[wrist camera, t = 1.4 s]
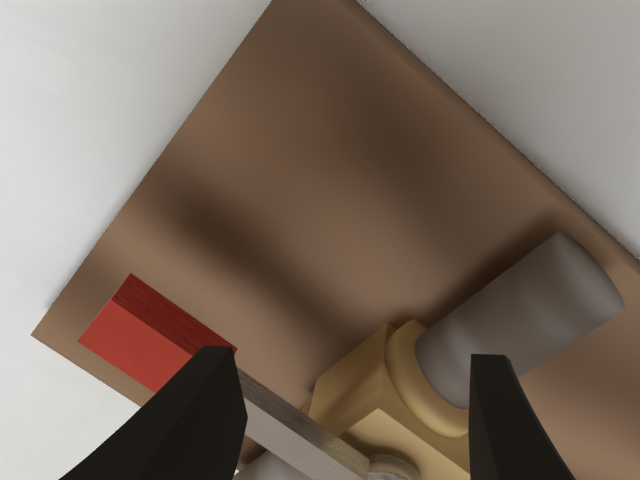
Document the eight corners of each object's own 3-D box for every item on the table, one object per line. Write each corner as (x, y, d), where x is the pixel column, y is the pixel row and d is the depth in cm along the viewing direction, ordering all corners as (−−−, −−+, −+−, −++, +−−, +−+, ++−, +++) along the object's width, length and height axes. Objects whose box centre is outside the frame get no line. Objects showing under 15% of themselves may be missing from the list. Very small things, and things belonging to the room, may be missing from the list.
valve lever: (384, 513, 20) (382, 548, 19) (95, 317, 17) (73, 345, 16) (437, 483, 18) (437, 518, 17) (134, 268, 16) (114, 295, 15)
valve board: (308, -43, 17) (260, -11, 12) (794, 404, 22) (891, 547, 17) (50, 312, 25) (-35, 409, 21) (438, 570, 31) (439, 695, 26)
